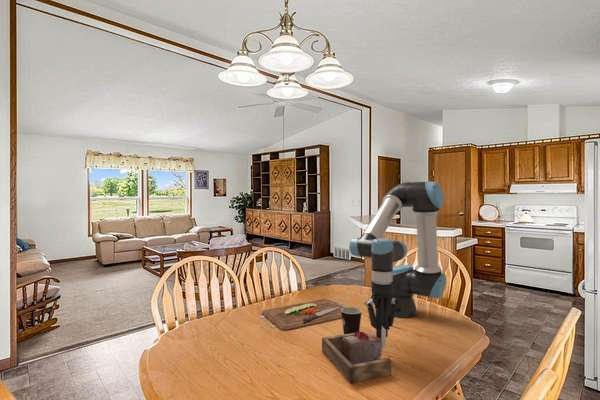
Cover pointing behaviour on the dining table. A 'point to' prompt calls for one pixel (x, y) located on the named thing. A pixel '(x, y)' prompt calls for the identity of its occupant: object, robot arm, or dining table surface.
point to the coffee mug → (351, 319)
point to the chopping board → (303, 314)
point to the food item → (361, 348)
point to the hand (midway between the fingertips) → (381, 346)
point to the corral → (357, 370)
